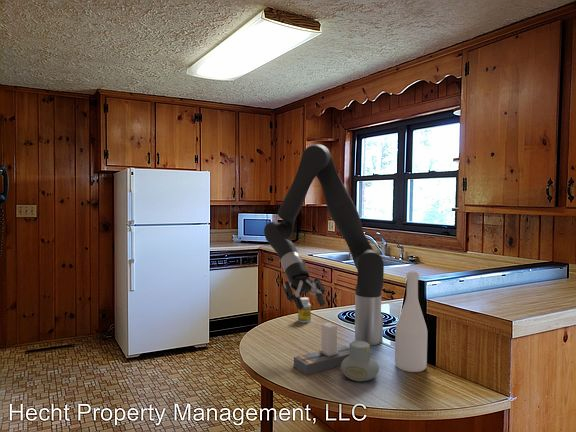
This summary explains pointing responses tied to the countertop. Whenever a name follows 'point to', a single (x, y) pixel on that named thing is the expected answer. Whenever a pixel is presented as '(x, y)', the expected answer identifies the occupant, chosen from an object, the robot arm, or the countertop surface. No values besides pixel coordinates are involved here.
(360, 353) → the air freshener
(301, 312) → the supplement bottle
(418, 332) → the wine bottle
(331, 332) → the fader tab
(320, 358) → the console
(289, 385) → the countertop surface
